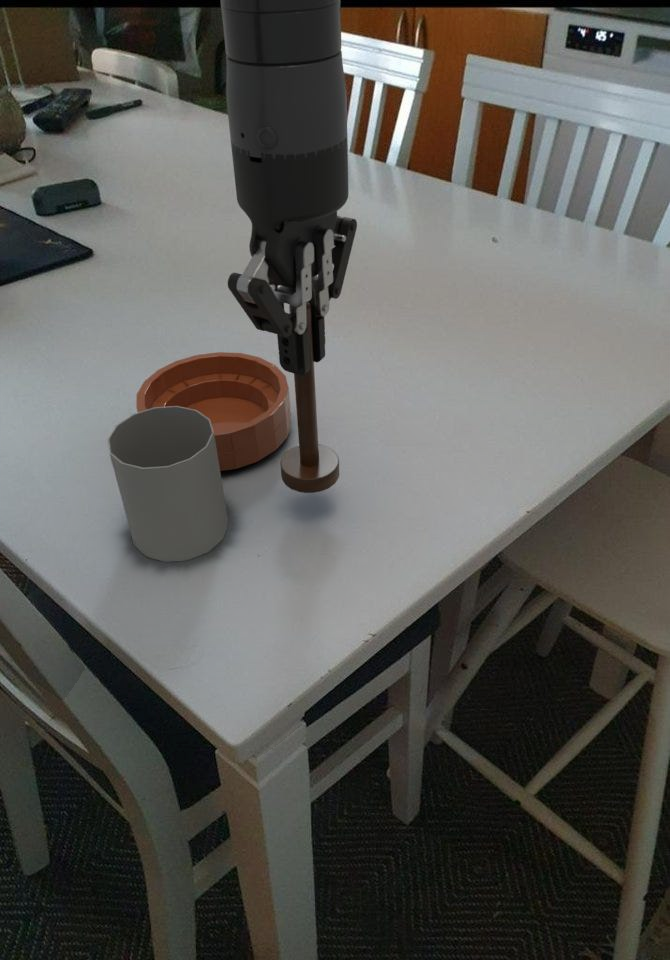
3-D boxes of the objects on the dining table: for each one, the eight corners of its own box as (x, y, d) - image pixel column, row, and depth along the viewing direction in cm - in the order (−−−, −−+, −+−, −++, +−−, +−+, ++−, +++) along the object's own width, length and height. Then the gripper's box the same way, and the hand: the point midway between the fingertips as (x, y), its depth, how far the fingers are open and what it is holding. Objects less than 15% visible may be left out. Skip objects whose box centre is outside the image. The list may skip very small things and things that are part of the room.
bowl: (175, 497, 74) (166, 454, 71) (127, 418, 84) (117, 377, 81) (316, 447, 79) (313, 405, 76) (255, 378, 89) (250, 338, 86)
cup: (113, 547, 69) (86, 454, 63) (163, 488, 75) (143, 398, 69) (199, 571, 67) (180, 478, 60) (244, 509, 72) (231, 417, 66)
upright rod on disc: (297, 500, 67) (284, 328, 57) (272, 468, 71) (255, 300, 60) (350, 481, 69) (346, 310, 59) (322, 450, 72) (314, 284, 62)
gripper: (299, 98, 58) (310, 316, 69) (174, 153, 49) (210, 394, 60) (391, 110, 55) (388, 337, 66) (275, 171, 46) (294, 423, 57)
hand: (303, 364), depth 63 cm, fingers closed on upright rod on disc
